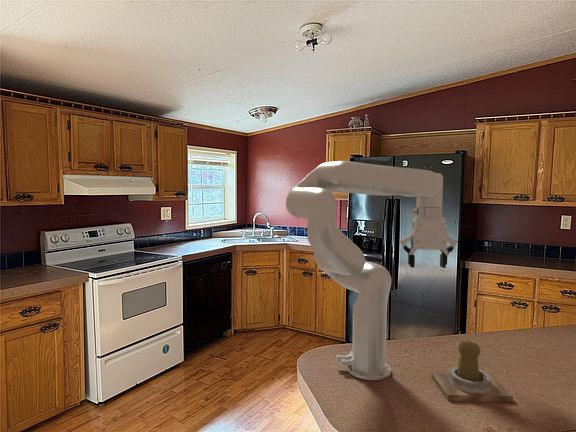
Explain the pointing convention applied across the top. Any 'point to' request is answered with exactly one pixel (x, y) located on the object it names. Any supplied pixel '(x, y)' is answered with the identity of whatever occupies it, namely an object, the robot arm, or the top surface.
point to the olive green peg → (468, 361)
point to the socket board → (469, 396)
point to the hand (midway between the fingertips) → (427, 267)
